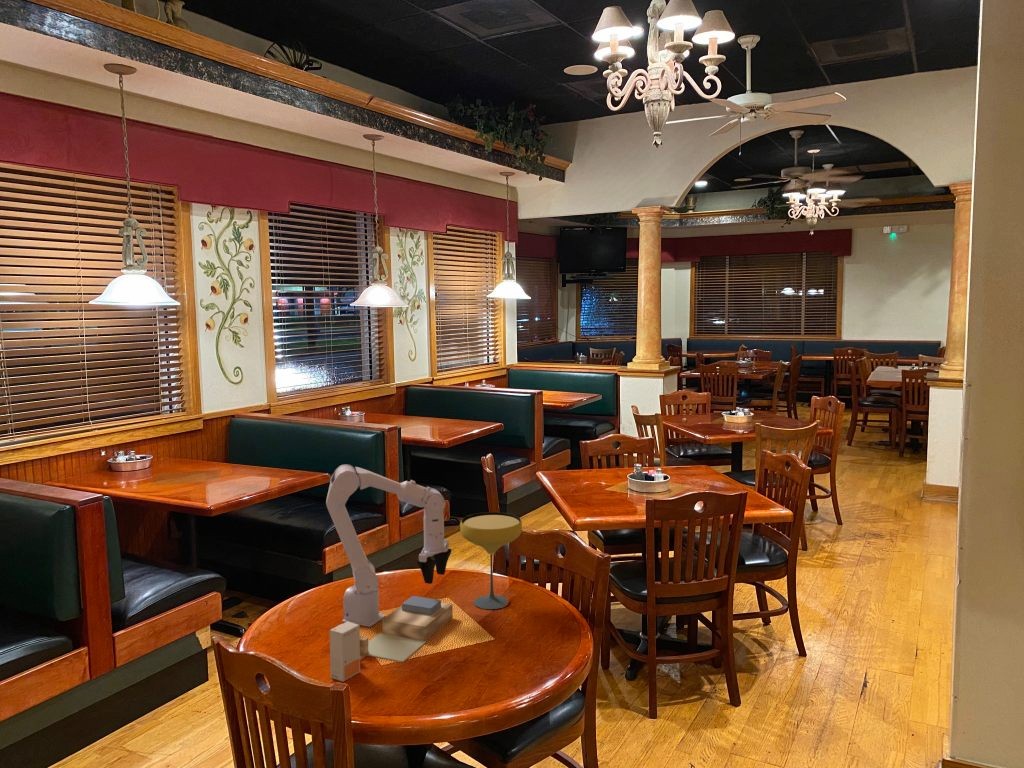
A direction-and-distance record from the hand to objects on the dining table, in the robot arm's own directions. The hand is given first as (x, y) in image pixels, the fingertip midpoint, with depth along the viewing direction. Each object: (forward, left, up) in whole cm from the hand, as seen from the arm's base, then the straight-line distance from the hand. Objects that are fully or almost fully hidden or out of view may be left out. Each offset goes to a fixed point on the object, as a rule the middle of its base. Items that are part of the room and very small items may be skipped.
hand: (434, 578), depth 218 cm
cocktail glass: (+12, +12, -10) cm, 20 cm away
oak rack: (-6, -33, -10) cm, 35 cm away
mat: (0, -25, -10) cm, 26 cm away
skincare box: (-3, -41, -10) cm, 42 cm away
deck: (0, -10, -10) cm, 14 cm away
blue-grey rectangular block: (0, -8, -6) cm, 10 cm away
